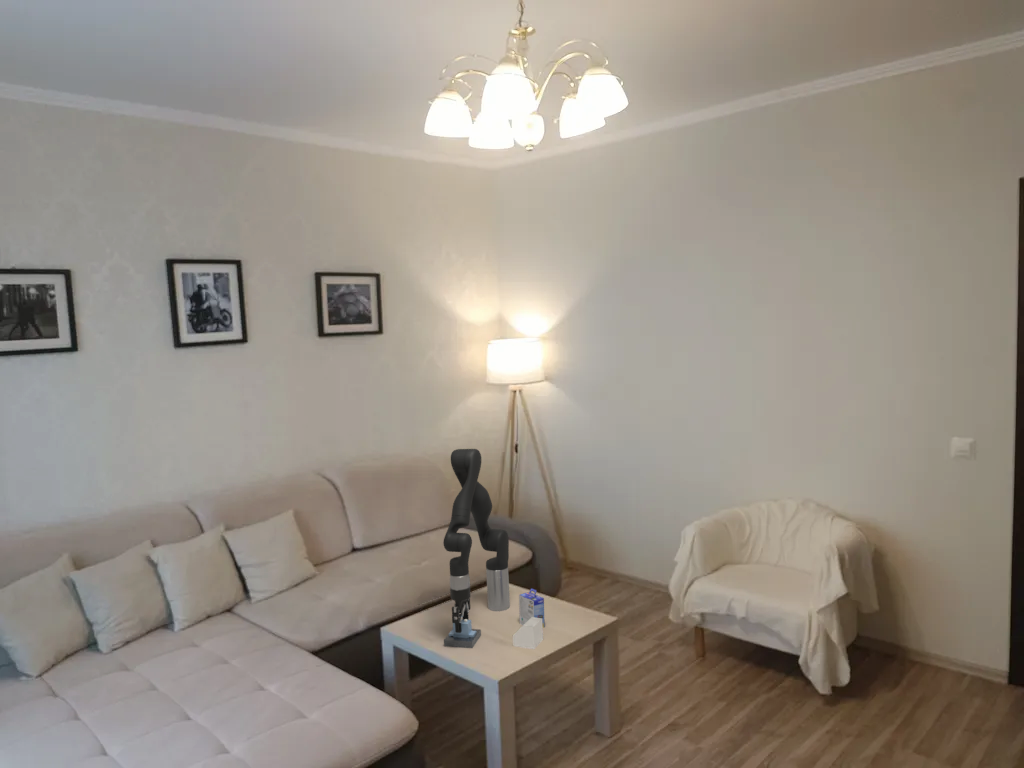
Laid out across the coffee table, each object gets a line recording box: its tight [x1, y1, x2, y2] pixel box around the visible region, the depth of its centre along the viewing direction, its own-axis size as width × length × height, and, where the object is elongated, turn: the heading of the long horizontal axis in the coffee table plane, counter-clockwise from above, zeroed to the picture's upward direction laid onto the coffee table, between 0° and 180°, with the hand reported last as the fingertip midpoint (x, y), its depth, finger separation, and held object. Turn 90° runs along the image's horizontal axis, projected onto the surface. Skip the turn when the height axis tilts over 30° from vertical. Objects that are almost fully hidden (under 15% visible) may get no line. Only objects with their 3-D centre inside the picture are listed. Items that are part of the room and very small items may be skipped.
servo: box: [448, 618, 476, 638], centre depth 267 cm, size 4×10×8 cm, turn 75°
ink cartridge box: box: [518, 587, 546, 629], centre depth 278 cm, size 10×6×14 cm, turn 37°
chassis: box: [443, 628, 482, 649], centre depth 267 cm, size 11×11×2 cm
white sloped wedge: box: [512, 617, 544, 650], centre depth 265 cm, size 8×15×8 cm, turn 155°
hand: (462, 627), depth 267 cm, fingers open, 8 cm apart
